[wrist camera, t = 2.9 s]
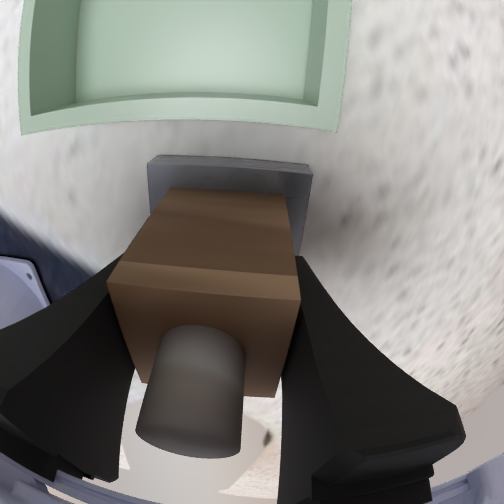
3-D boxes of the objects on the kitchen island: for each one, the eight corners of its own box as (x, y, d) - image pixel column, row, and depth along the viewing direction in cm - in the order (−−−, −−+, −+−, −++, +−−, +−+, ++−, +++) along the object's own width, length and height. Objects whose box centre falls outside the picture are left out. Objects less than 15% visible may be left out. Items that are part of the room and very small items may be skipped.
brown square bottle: (272, 284, 13) (274, 471, 6) (176, 276, 13) (122, 450, 6) (284, 195, 10) (313, 411, 4) (170, 187, 10) (56, 373, 4)
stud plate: (287, 284, 14) (294, 370, 10) (166, 274, 14) (136, 354, 10) (308, 165, 11) (336, 225, 7) (157, 155, 11) (97, 208, 7)
